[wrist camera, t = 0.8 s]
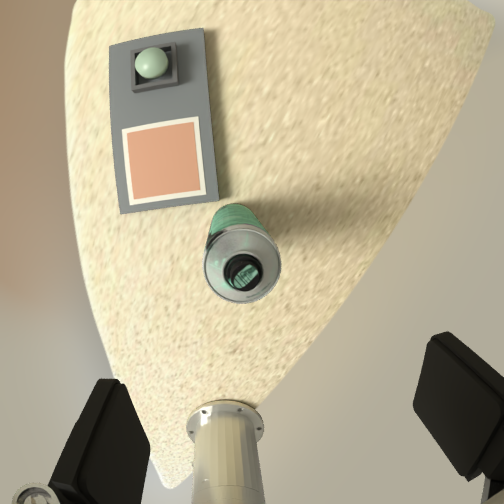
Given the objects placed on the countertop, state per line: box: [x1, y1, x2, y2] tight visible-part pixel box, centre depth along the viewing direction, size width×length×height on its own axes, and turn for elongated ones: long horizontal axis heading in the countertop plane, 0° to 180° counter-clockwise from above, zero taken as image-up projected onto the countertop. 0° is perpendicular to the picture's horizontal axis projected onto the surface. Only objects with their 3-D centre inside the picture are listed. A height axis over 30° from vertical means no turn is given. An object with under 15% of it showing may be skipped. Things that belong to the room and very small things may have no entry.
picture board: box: [109, 28, 219, 214], centre depth 33 cm, size 22×12×3 cm, turn 6°
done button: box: [135, 47, 169, 80], centre depth 29 cm, size 4×4×2 cm
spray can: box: [202, 204, 281, 304], centre depth 28 cm, size 6×6×20 cm
